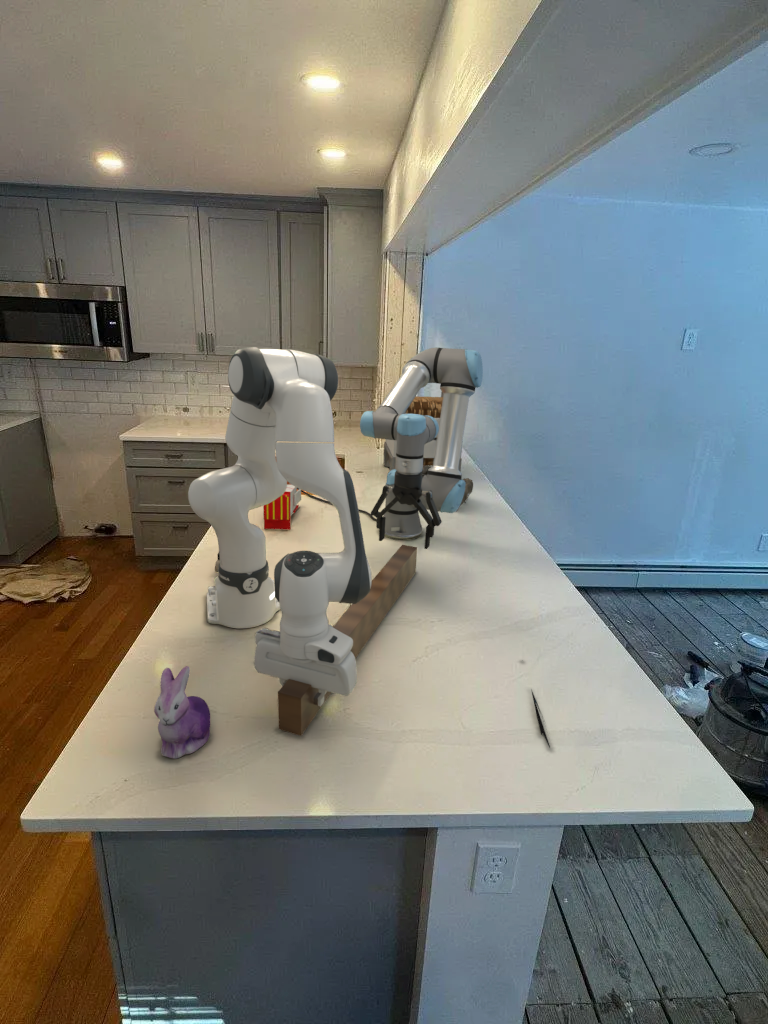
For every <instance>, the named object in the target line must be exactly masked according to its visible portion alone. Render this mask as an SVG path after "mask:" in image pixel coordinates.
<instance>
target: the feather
mask: <svg viewBox="0 0 768 1024" xmlns="http://www.w3.org/2000/svg"><path fill="white" fill-rule="evenodd" d="M521 662H524V660H521ZM530 690H531V695H532V700H533V705H534V709H535V715H536V719H537V724H538V727H539V733H540V736H542V735H543V737H544V739H545V741H546V743H547V746H548V747H549V748H551V746H550V742H549V739H548V737H547V734H549V731H546V729H545V726H544V723H546V721H545V719H544V716H543V714H542V712H541V709H540V707H539V705H538V701H537V699H536V697H535V694H534V692H533V689H532V688H530ZM546 732H547V734H546Z"/></svg>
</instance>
